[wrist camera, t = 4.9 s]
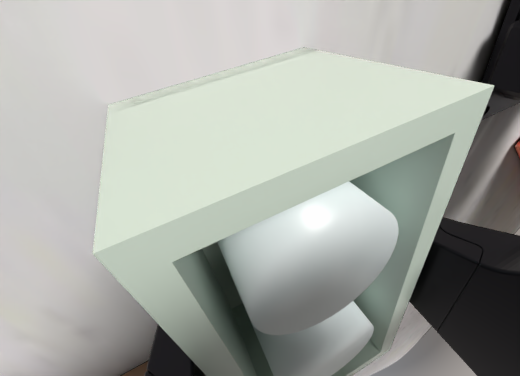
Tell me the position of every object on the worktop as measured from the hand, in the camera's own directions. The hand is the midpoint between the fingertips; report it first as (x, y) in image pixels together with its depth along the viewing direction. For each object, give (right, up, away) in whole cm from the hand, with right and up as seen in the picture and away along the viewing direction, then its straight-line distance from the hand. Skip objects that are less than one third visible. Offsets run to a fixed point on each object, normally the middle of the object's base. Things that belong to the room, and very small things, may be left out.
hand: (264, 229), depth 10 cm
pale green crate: (-1, +1, +1) cm, 1 cm away
